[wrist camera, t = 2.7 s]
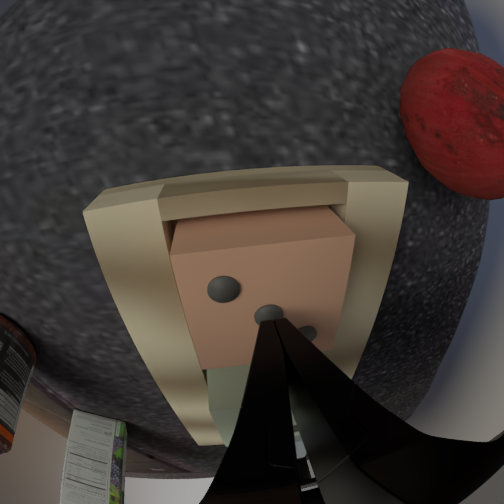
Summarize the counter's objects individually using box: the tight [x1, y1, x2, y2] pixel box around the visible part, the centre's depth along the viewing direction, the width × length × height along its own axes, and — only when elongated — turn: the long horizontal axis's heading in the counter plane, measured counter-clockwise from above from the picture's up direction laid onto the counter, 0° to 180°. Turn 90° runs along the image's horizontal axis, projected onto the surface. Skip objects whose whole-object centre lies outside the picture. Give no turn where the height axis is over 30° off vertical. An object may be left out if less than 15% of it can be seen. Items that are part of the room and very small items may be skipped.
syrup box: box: [60, 409, 127, 504], centre depth 15 cm, size 6×6×14 cm
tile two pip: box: [207, 364, 300, 446], centre depth 13 cm, size 6×6×3 cm
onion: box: [400, 48, 504, 200], centre depth 6 cm, size 6×6×8 cm
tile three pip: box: [170, 205, 355, 370], centre depth 10 cm, size 6×6×3 cm
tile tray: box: [83, 165, 409, 446], centre depth 15 cm, size 22×12×2 cm, turn 2°
